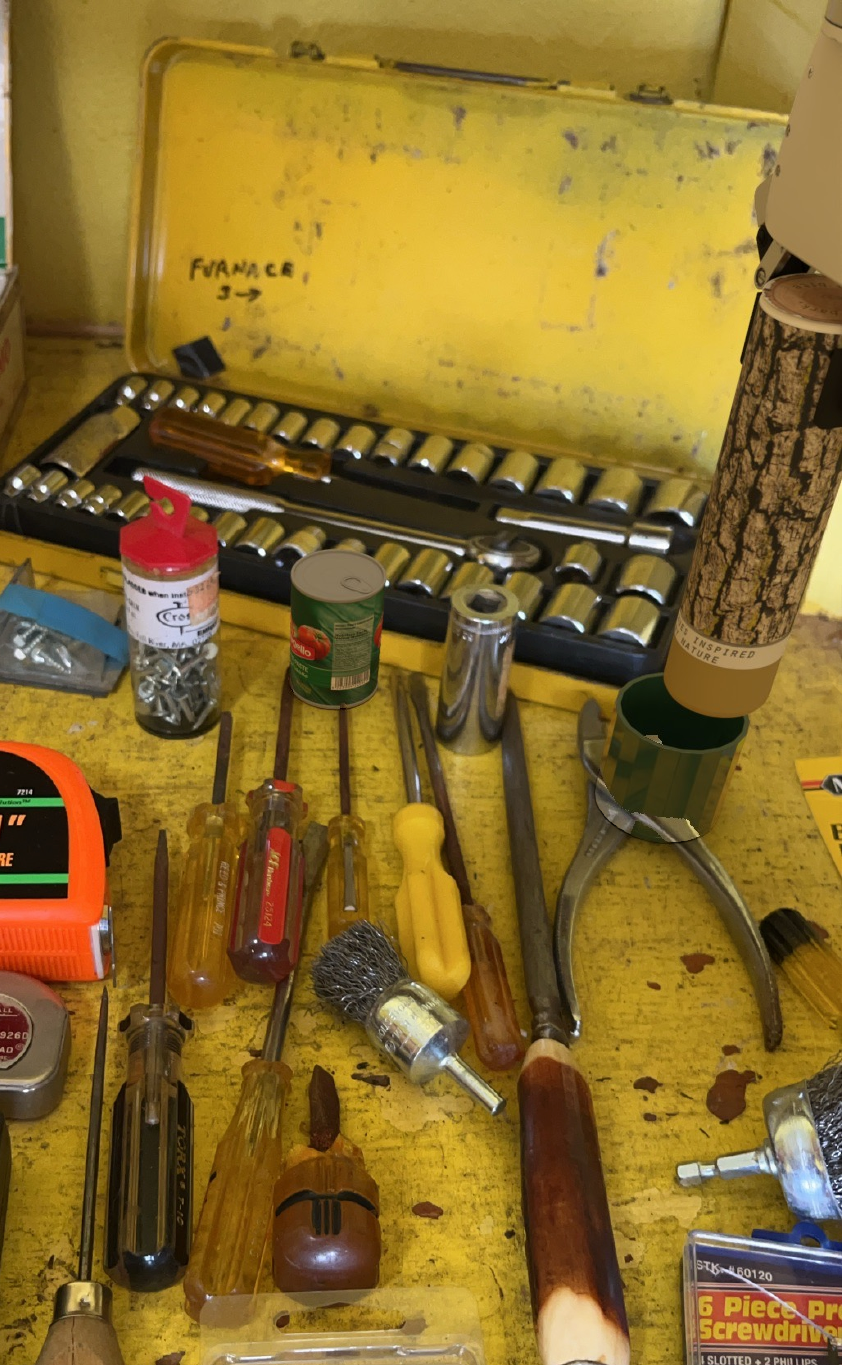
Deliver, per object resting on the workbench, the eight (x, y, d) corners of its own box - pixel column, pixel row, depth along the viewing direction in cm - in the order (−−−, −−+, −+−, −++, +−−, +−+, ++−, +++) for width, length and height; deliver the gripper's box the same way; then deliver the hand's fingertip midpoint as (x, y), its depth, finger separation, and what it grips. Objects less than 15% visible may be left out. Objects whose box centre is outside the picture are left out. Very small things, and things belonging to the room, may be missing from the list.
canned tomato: (270, 683, 110) (270, 573, 103) (329, 645, 114) (333, 537, 107) (338, 722, 107) (343, 611, 99) (396, 682, 111) (406, 572, 103)
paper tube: (764, 732, 79) (900, 331, 61) (655, 711, 81) (757, 314, 63) (770, 671, 84) (898, 281, 66) (667, 652, 85) (765, 266, 67)
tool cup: (684, 754, 104) (711, 665, 98) (741, 832, 98) (773, 742, 91) (574, 771, 103) (595, 681, 96) (625, 852, 96) (650, 761, 90)
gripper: (1130, 39, 50) (960, 459, 63) (880, -45, 62) (780, 323, 75) (967, 51, 49) (828, 477, 61) (743, -37, 60) (665, 336, 73)
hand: (802, 390), depth 68 cm, fingers closed on paper tube, 6 cm apart
